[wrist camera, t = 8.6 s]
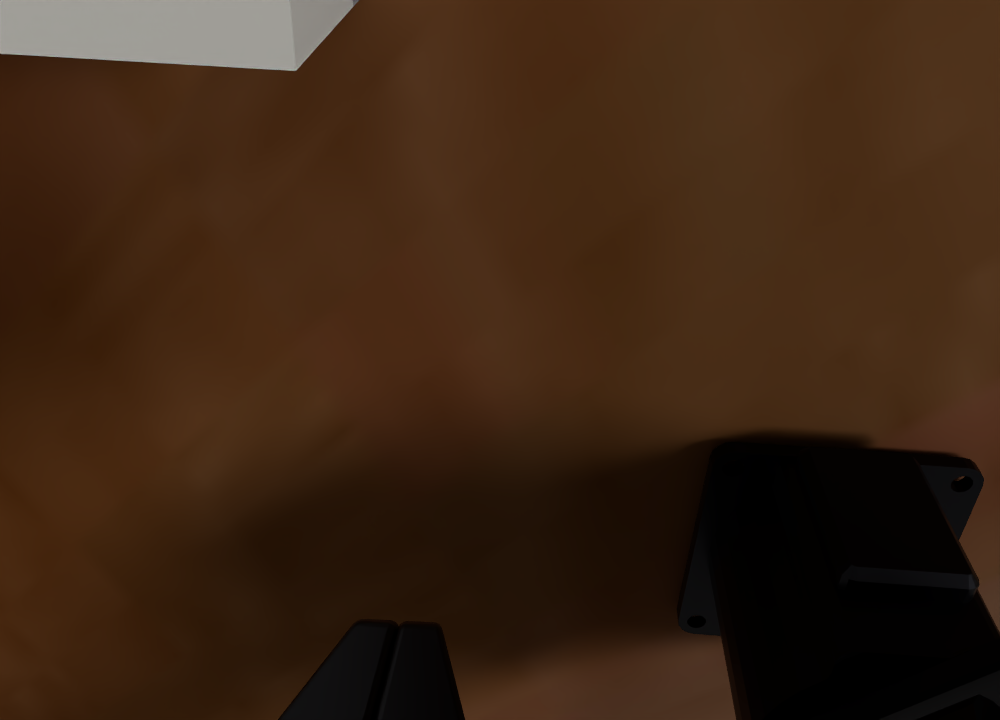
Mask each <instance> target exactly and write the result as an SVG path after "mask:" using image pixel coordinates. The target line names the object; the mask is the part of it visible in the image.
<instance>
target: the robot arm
mask: <svg viewBox="0 0 1000 720" xmlns="http://www.w3.org/2000/svg"><path fill="white" fill-rule="evenodd" d="M732 460H736V461H739V463H737V464H735V465H733V466H727V465H724V464H725V463H727V462H728V461H732ZM961 476H965V477H964V478H963V479H961V480H959V481H953V480H954V479H956V478H958V477H961ZM983 482H984V478H983V476H982V474H981V472H980V470H979V469H978V467H977V465H976V464H975V463H974V462H973V461H972V460H970V459H966V458H961V457H947V456H932V455H918V454H908V453H895V452H880V451H865V450H851V449H836V448H821V447H800V446H786V445H771V444H756V443H742V442H728V443H724V444H721V445H719V446H718V447H716V448H715V449H714V450H713V452H712V454H711V456H710V459H709V464H708V468H707V473H706V478H705V482H704V487H703V491H702V496H701V501H700V505H699V510H698V514H697V519H696V524H695V528H694V533H693V537H692V542H691V547H690V551H689V556H688V560H687V565H686V570H685V574H684V579H683V583H682V588H681V593H680V597H679V602H678V606H677V616H678V623H679V626H680V627H681V629H682V630H684V631H686V632H688V633H693V634H704V635H717V636H721V639H722V644H723V650H724V655H725V660H726V666H727V671H728V677H729V682H730V688H731V693H732V699H733V704H734V710H735V715H736V720H1000V632H999V630H998V628H997V626H996V625H995V623H994V621H993V619H992V617H991V615H990V613H989V611H988V609H987V607H986V605H985V603H984V601H983V599H982V597H981V595H980V593H979V591H978V587H979V579H978V577H977V575H976V573H975V571H974V569H973V567H972V565H971V563H970V561H969V560H968V558H967V556H966V554H965V552H964V550H963V548H962V546H961V544H960V542H959V539H960V536H961V534H962V532H963V530H964V527H965V525H966V523H967V521H968V518H969V516H970V514H971V512H972V509H973V507H974V505H975V502H976V500H977V498H978V496H979V493H980V491H981V489H982V487H983ZM696 615H699V616H696ZM693 616H695V617H693ZM278 720H465V717H464V713H463V709H462V705H461V701H460V697H459V694H458V690H457V686H456V682H455V678H454V674H453V670H452V666H451V662H450V658H449V654H448V650H447V646H446V642H445V638H444V634H443V631H442V628H441V626H440V625H439V624H437V623H434V622H413V621H406V622H403V623H401V624H400V626H398V624H397V623H396V622H394V621H391V620H372V619H362V620H359V621H357V622H355V623H354V624H353V625H352V626H351V627H350V629H349V630H348V631H347V632H346V634H345V635H344V636H343V638H342V639H341V640H340V641H339V643H338V644H337V645H336V646H335V648H334V649H333V650H332V652H331V653H330V654H329V655H328V657H327V658H326V659H325V660H324V662H323V663H322V664H321V665H320V667H319V668H318V669H317V671H316V672H315V673H314V674H313V676H312V677H311V678H310V679H309V681H308V682H307V683H306V685H305V686H304V687H303V688H302V690H301V691H300V692H299V693H298V695H297V696H296V697H295V699H294V700H293V701H292V702H291V704H290V705H289V706H288V707H287V709H286V710H285V711H284V712H283V714H282V715H281V716H280V718H279V719H278Z"/></svg>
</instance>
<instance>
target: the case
mask: <svg viewBox="0 0 1000 720" xmlns="http://www.w3.org/2000/svg"><path fill="white" fill-rule="evenodd" d="M358 1H359V0H0V54H16V55H33V56H50V57H67V58H84V59H102V60H119V61H136V62H153V63H170V64H187V65H204V66H221V67H239V68H256V69H273V70H290V71H296V70H297V69H298V68H299V67H300V66H301V65H302V63H303V62H304V61H305V60H306V59H307V58H308V57H309V56H310V54H311V53H312V52H313V51H314V50H315V49H316V48H317V47H318V46H319V44H320V43H321V42H322V41H323V40H324V39H325V38H326V37H327V35H328V34H329V33H330V32H331V31H332V30H333V29H334V28H335V26H336V25H337V24H338V23H339V22H340V21H341V20H342V19H343V18H344V16H345V15H346V14H347V13H348V12H349V11H350V10H351V9H352V7H353V6H354V5H355V4H356V3H357V2H358Z"/></svg>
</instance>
